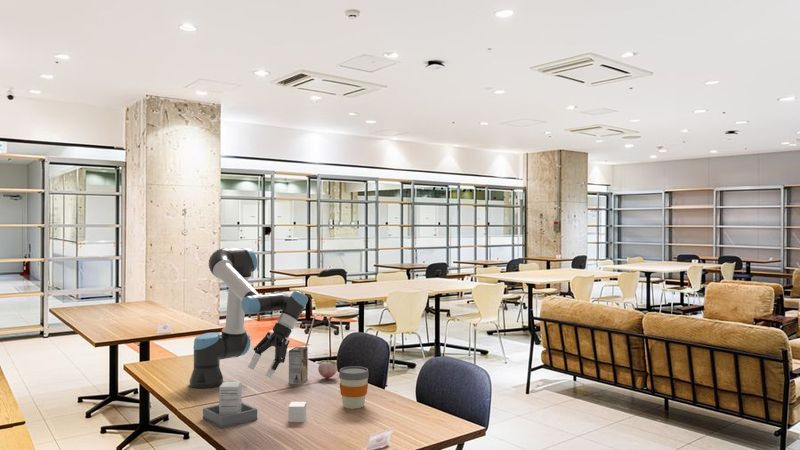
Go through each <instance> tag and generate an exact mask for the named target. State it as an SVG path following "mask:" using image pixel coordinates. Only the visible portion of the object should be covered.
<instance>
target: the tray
mask: <svg viewBox="0 0 800 450" xmlns="http://www.w3.org/2000/svg"><path fill="white" fill-rule="evenodd" d="M202 419H203V420H204V421H206V422H208V423H210V424H212V425H214V426H216V427H218V428H219V429H225V428H229V427H233V426H237V425H241V424H244V423H248V422H253V421H256V420H258V408H256V407H253V406H252V405H249V404H247V403H244V402H242V401H241V412H240V413H236V414H232V415H228V416H224V417H223V416H221V415H219V404H217V405H212V406H207V407H203V408H202Z"/></svg>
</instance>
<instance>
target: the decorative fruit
mask: <svg viewBox="0 0 800 450" xmlns="http://www.w3.org/2000/svg"><path fill="white" fill-rule="evenodd" d="M326 359H327V360H325V359H324V360H320V361H319V362H318V373H319V375H320V376H321V377H322V378H325V379H328V380H329V379H330V378H332V377H334V376H335V375H336V373H337V372H338V371H337V370H338V366H337V364H338V362H336V361H335V360H332V359H331V360H329V358H326Z"/></svg>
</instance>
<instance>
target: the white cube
mask: <svg viewBox="0 0 800 450" xmlns="http://www.w3.org/2000/svg"><path fill="white" fill-rule="evenodd" d="M306 418H307V401H290V403H289V405H288V423H304V422H305V421H306Z"/></svg>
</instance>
